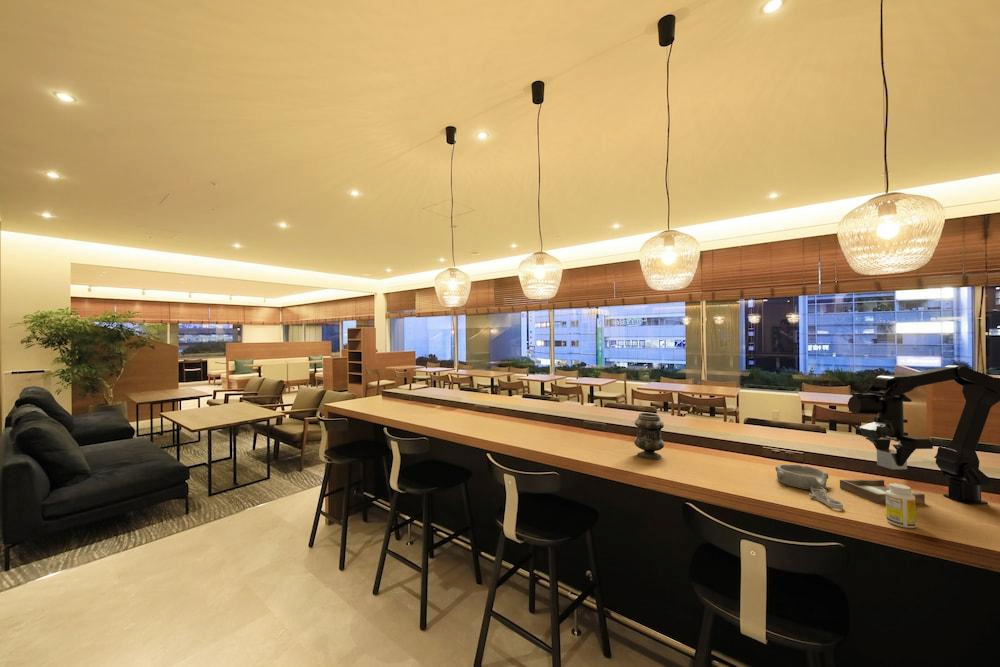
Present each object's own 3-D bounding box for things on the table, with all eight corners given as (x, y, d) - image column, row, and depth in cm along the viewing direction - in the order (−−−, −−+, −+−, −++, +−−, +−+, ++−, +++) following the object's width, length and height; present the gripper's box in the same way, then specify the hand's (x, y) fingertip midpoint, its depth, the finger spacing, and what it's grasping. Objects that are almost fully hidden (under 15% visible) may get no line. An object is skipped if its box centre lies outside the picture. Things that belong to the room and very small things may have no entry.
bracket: (837, 489, 120) (843, 504, 109) (837, 495, 120) (843, 511, 108) (807, 484, 125) (809, 498, 113) (807, 490, 125) (810, 504, 113)
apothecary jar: (669, 457, 160) (669, 414, 161) (654, 462, 153) (654, 418, 153) (644, 450, 170) (644, 410, 170) (628, 455, 162) (628, 413, 163)
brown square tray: (882, 487, 127) (881, 479, 127) (924, 503, 114) (924, 494, 114) (839, 487, 126) (839, 479, 127) (878, 503, 114) (877, 494, 114)
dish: (829, 484, 130) (829, 469, 130) (825, 495, 120) (825, 479, 120) (777, 473, 140) (777, 460, 140) (770, 483, 130) (770, 468, 130)
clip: (891, 464, 123) (891, 449, 123) (907, 469, 118) (906, 453, 118) (877, 464, 123) (876, 449, 123) (891, 469, 118) (891, 453, 118)
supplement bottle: (912, 523, 102) (912, 485, 102) (919, 531, 97) (918, 491, 97) (883, 517, 105) (883, 480, 105) (888, 525, 100) (888, 486, 101)
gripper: (839, 410, 130) (840, 455, 130) (897, 421, 111) (898, 474, 111) (870, 409, 130) (872, 455, 130) (933, 420, 112) (935, 473, 111)
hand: (892, 463), depth 121 cm, fingers closed on clip, 4 cm apart
